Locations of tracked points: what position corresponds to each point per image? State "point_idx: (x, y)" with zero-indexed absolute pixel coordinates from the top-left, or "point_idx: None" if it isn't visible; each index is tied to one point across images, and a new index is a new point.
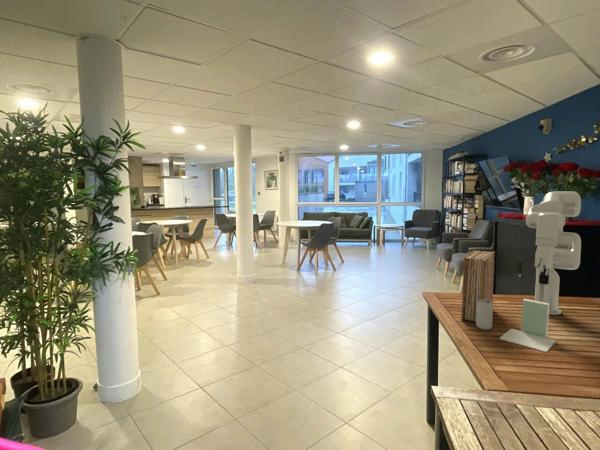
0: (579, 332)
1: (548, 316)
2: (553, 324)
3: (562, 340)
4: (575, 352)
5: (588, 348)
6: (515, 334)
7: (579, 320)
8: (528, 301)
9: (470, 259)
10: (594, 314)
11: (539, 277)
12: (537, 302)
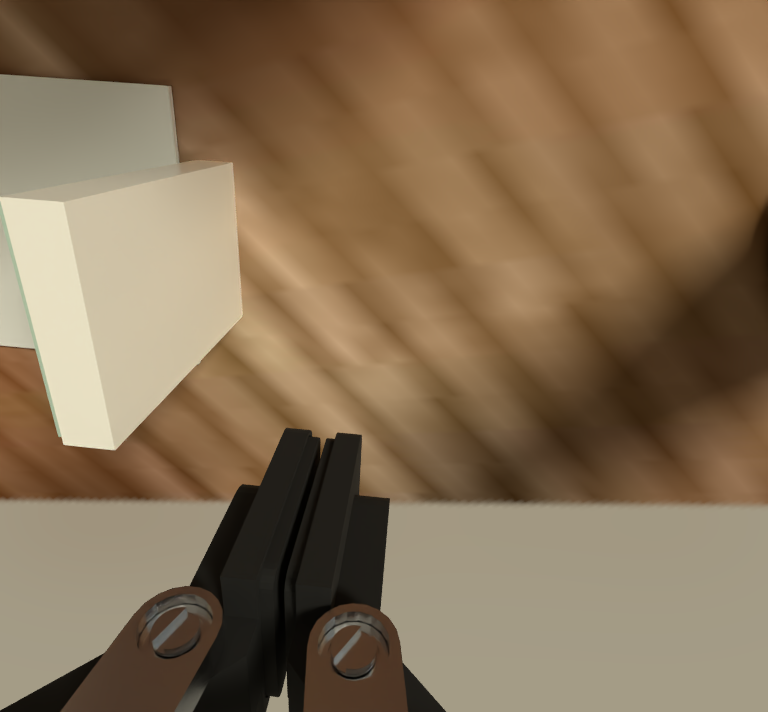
0: (459, 447)
1: (174, 381)
2: (522, 319)
3: (246, 387)
4: (129, 443)
5: (234, 483)
6: (79, 146)
7: (728, 440)
8: (13, 265)
9: None
10: None
11: (249, 515)
12: (45, 355)
